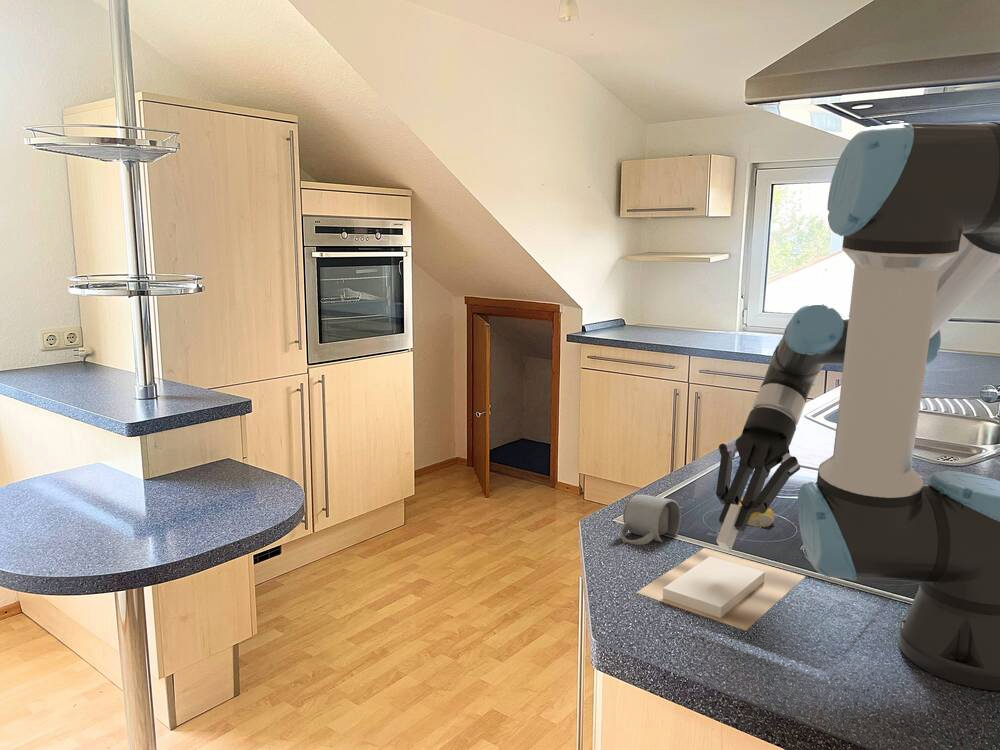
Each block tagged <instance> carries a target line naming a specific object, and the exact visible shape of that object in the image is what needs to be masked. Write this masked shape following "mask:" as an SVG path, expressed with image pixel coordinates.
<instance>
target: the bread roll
mask: <svg viewBox="0 0 1000 750" xmlns="http://www.w3.org/2000/svg"><path fill="white" fill-rule="evenodd" d="M743 498H744V497H741V501H742V500H743ZM739 506H741V507H742V504H741V502H739ZM775 519H776V516H775V513H774V511H773V510H772V509H771V508H770V507H769V508H768V509H767V511H766V512H765V513H760V512H754V513H752V514H751V516H750V518H749V521H748V523H747V526H751V527H755V528H758V527H759V529H761V528H760V527H763V528H768V527H770V526H772V525H773V523H774V521H775Z"/></svg>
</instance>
